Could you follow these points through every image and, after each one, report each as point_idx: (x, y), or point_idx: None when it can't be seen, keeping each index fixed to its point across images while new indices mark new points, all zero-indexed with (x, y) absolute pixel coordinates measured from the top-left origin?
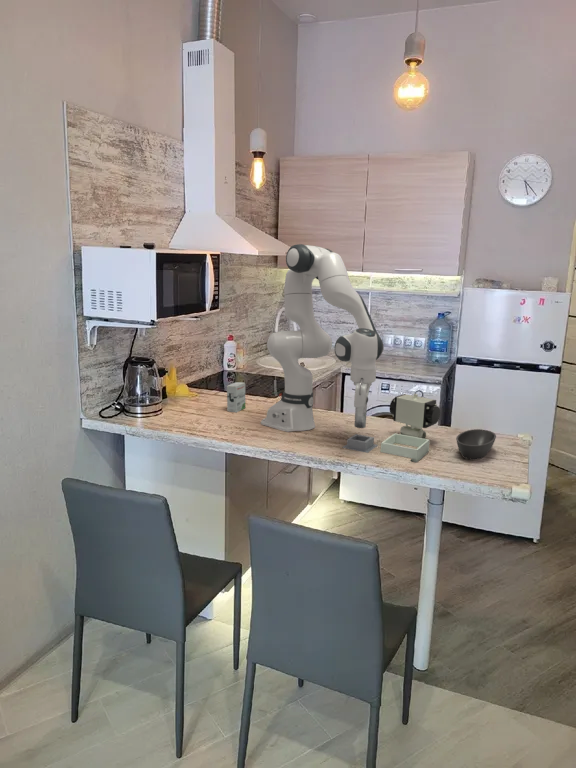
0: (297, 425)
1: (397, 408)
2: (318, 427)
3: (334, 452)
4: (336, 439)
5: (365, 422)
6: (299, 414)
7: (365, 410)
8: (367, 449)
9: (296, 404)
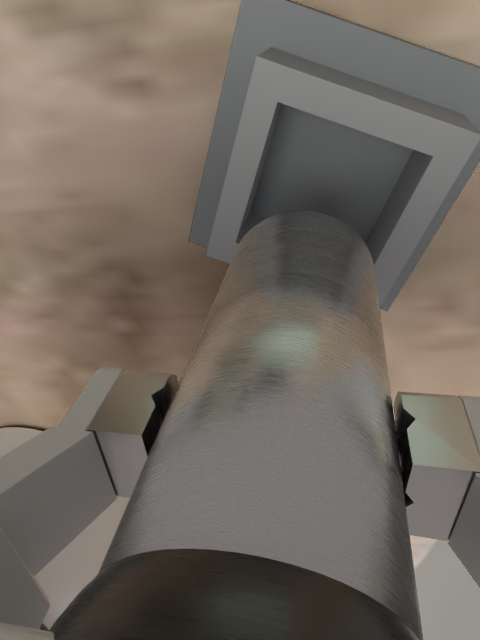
0: (113, 508)
1: None
2: (19, 412)
3: (431, 336)
4: (163, 332)
5: (324, 245)
6: (74, 557)
7: (352, 404)
8: (419, 98)
9: (47, 625)
